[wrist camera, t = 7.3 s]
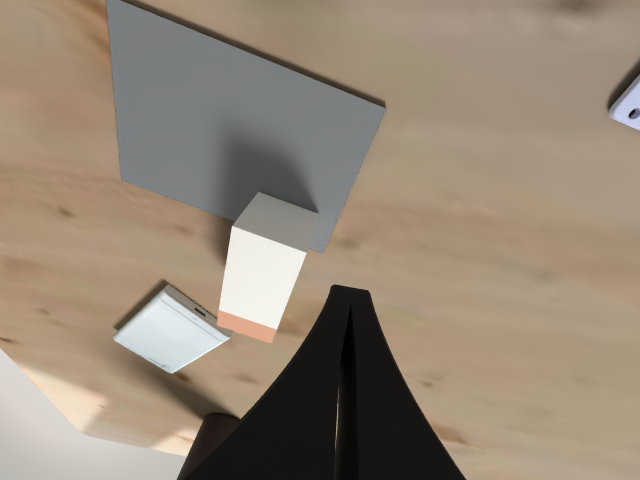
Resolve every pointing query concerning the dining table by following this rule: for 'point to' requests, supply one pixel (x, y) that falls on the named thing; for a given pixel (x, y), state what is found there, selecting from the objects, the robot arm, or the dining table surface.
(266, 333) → the block
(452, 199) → the dining table surface
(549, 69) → the dining table surface
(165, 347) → the hard drive
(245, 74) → the mat
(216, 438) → the bottle
